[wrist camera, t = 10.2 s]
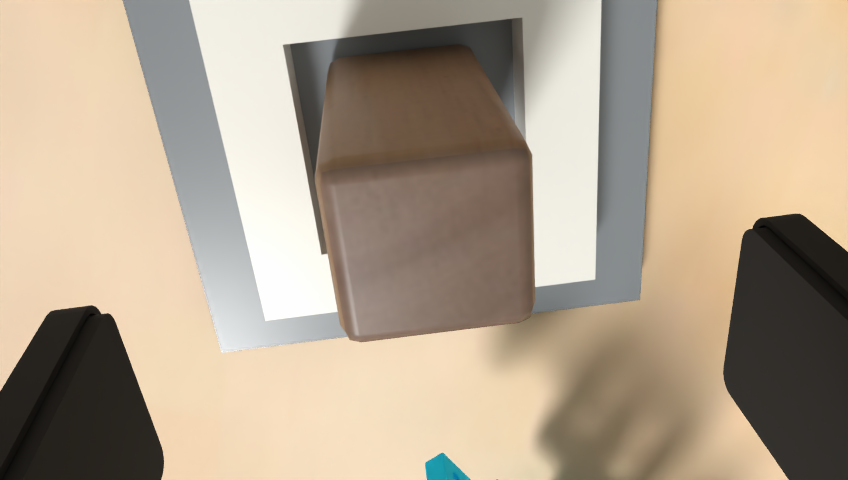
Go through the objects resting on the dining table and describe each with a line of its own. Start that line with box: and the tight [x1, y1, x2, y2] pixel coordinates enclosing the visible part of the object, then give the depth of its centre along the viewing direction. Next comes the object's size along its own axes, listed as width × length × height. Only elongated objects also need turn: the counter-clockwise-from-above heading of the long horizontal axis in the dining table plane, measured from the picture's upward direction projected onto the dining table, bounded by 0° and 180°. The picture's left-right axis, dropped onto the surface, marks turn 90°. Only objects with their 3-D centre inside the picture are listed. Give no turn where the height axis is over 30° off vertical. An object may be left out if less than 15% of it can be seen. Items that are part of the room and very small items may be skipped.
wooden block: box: [315, 44, 535, 342], centre depth 17 cm, size 4×4×8 cm
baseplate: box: [123, 0, 657, 353], centre depth 21 cm, size 14×14×2 cm
